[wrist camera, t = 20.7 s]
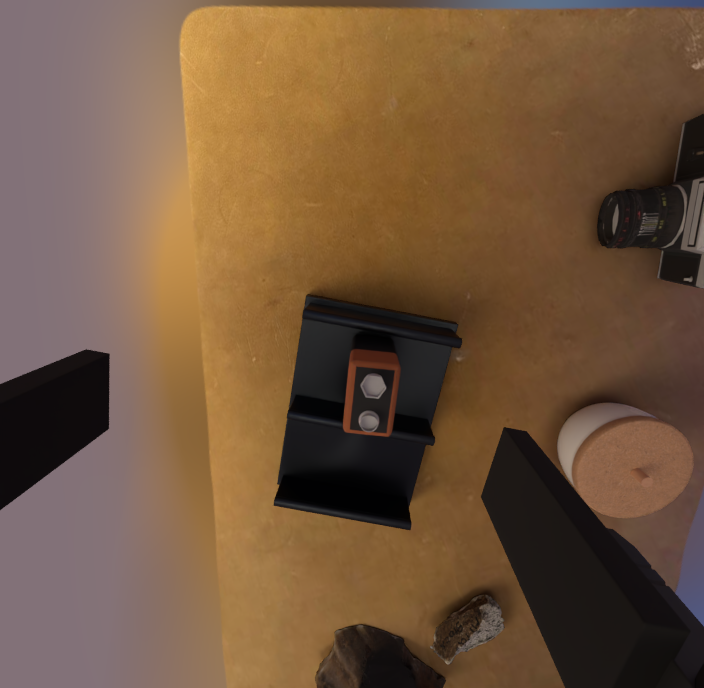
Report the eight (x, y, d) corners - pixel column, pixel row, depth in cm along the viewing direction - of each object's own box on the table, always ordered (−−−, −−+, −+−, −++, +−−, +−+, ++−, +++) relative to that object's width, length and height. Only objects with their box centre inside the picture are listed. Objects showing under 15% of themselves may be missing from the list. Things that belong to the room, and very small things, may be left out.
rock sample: (484, 688, 50) (477, 706, 43) (434, 638, 54) (421, 647, 47) (525, 615, 52) (525, 621, 45) (474, 572, 56) (467, 572, 49)
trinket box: (558, 379, 42) (611, 418, 33) (653, 397, 42) (731, 441, 33) (528, 463, 45) (569, 520, 36) (616, 479, 45) (680, 540, 36)
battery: (394, 337, 40) (403, 369, 30) (386, 396, 42) (392, 444, 32) (352, 333, 40) (348, 363, 30) (346, 392, 42) (341, 439, 32)
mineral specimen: (352, 618, 49) (435, 750, 42) (386, 580, 61) (455, 678, 54) (291, 673, 51) (362, 807, 44) (336, 626, 63) (396, 726, 56)
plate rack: (279, 478, 47) (267, 510, 41) (307, 293, 40) (298, 302, 35) (407, 501, 47) (413, 536, 41) (455, 322, 41) (470, 335, 35)
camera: (603, 128, 36) (659, 92, 27) (740, 114, 34) (853, 69, 24) (585, 283, 40) (628, 299, 31) (706, 281, 38) (793, 297, 28)
